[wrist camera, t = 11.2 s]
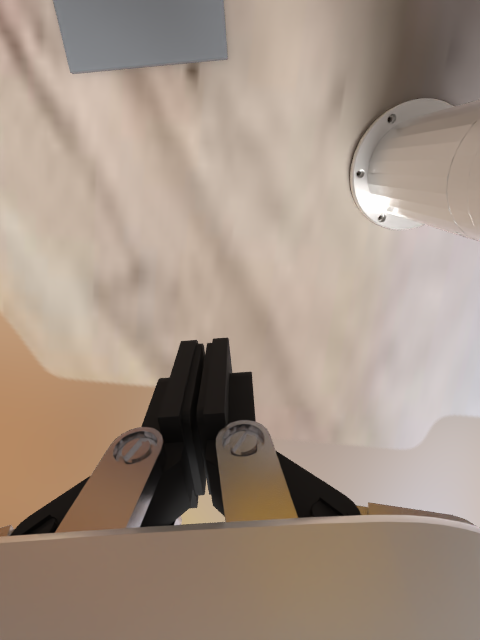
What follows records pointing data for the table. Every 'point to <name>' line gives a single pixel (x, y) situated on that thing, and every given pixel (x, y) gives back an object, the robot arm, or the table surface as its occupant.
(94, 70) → the mat
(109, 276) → the table surface
